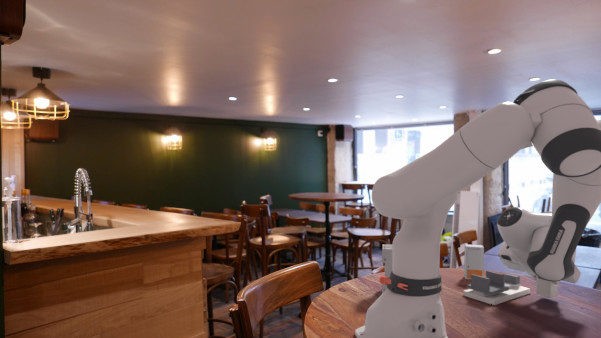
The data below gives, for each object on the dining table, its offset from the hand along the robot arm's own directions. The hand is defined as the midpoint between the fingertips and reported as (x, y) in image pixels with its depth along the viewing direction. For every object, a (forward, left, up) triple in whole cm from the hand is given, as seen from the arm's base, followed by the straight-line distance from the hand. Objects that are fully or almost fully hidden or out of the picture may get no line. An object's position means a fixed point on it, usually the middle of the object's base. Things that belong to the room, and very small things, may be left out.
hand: (547, 280), depth 116 cm
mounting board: (-8, +11, -6) cm, 15 cm away
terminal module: (0, 0, -4) cm, 4 cm away
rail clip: (-8, +11, -4) cm, 14 cm away
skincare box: (+1, +25, -6) cm, 26 cm away
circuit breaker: (-33, +26, -6) cm, 42 cm away
